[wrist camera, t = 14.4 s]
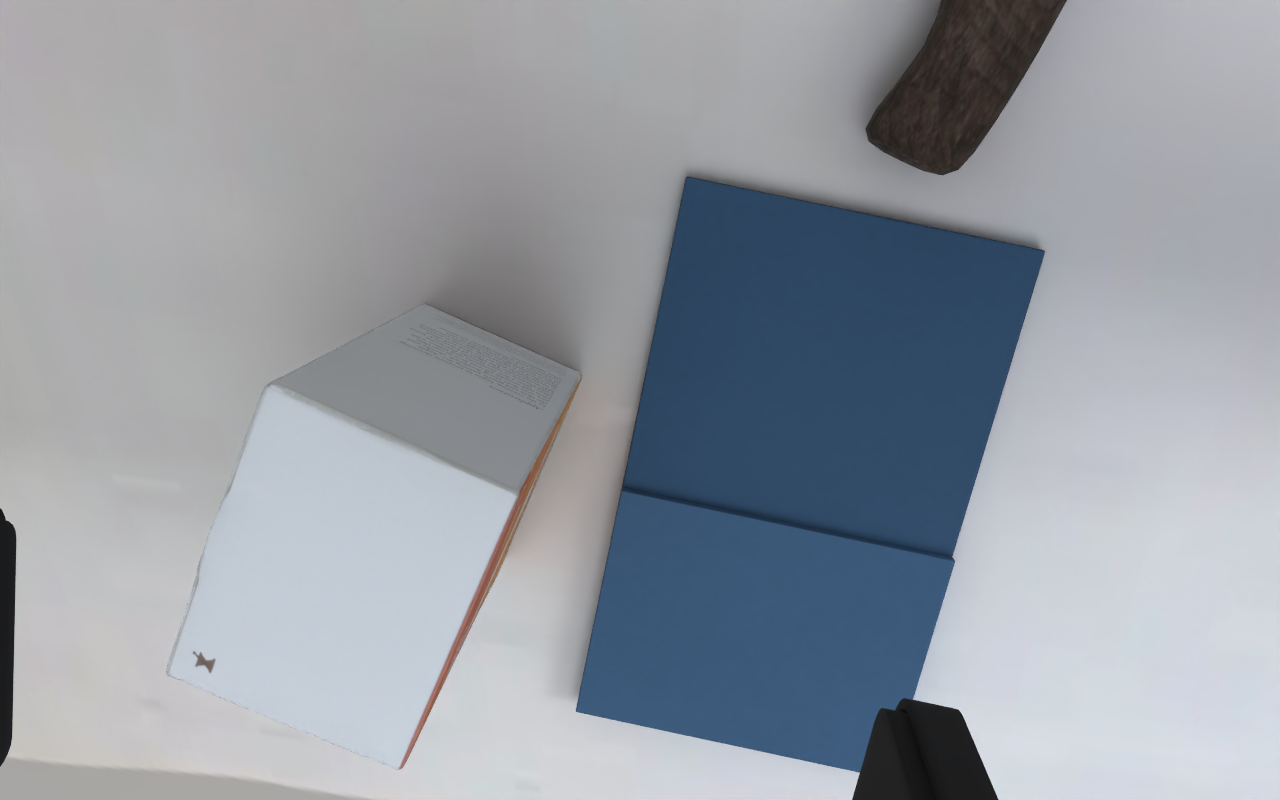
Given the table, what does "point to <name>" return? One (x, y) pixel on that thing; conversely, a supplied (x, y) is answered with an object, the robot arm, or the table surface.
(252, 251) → the table surface
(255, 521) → the small box
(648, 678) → the cloth
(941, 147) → the cleaver
